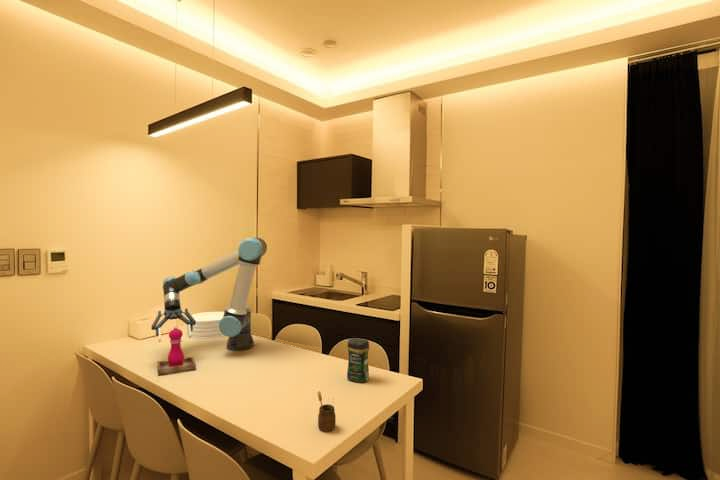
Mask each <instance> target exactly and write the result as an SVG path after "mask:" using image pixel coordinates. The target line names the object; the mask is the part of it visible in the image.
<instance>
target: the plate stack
mask: <svg viewBox="0 0 720 480" xmlns="http://www.w3.org/2000/svg"><path fill="white" fill-rule="evenodd" d="M224 312H225V311H207V312H205V311H204V312H199V313H198V312H197V313H193V314H190V315H191V316H192V317H193V318H194V320H195V321H196V324H195V325H193V331H192V332H191V338H189V332H188V325H187V324H186V334H185V335H186V337H187V338H188V339H192V340H213V339H219V338H223V337H226V336H225V335H223V334H222V333H221V331H220V330H219V322H220V320H221V319H222V318H223V316H224ZM186 318H187V317H186ZM187 319H188V318H187ZM188 320H189V319H188ZM189 321H190V320H189Z"/></svg>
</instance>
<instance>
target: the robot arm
mask: <svg viewBox="0 0 720 480" xmlns="http://www.w3.org/2000/svg"><path fill="white" fill-rule="evenodd" d="M237 249H238V250H236V251H234V252H231V253H229V254H227V255H225V256H223V257H221V258H218V260H215V261H213V262H211V263H208V264H206V265H205V266H203V267H202V268H199V269H197V270H191V271H188V272H186V273H184V274H182V275H180V276H178V277H176V276H168V277H166V278H164V279H163V281H162V289H163V303H164V304H163V305H164V311H161V310H159V311H158V314H157V316H156V317H155V319H154V321H153V322H152V325H151V330H152V331H155V336H158V343H161V342H162V338H161V337H162V334H161V328H162V326H163V325H164V324H165V323H166V322H168V320H177V319H179V320H181V321H182V322H183V323H184V324H186V326H187V325H188V332H189V338H188V339H191V332H192V331H193V325H195V324H196V321H195V320H194V318H193V317H192V316H191V315H192V314H190V312H189V310H188V308H184V309H182V307H181V297H180V292H182V291H184V290H186V289H189V288H191V287H194V286H197V285H200V284H202V283H205V282H206V281H208V280H209V279H211V278H214V277H216V276H218V275H219V274H222V273H224V272H226V271H229V270H230V269H232V268H235V267H236V266H238V265H239V266H238V269H237V273H236V277H235V281H234V285H233V289H232V293H231V296H230V301H229V304H228V306H227V307H225V309H224V311H223V312H224V316H223V318H222V319H221V320H220V322H219V330H220V331H221V333H222V334H223V335H225V336H224V337H228V338H227V342H226V349H227V350H230V351H245V350H249V349H251V348H253V347H254V346H255V341H254V337H253V335H252V311H251V307H249V306H247V303H248V299H249V296H250V291H251V287H252V283H253V279H254V275H255V272H256V268H257V267H258V266H260V263H261V260H262V258H263V257H264V255H265V254H266V253H267V249H268V246H267V242H266V241H265V240H264V239H262V238H260V237H247V238H245V239H243V240H242V241H241V242H240V243H239V245H238V248H237ZM183 314H184V315H185V316H184V315H183ZM163 316H164V318H162V320H161V321H160V319H161V317H163ZM187 318H188V319H189V320H190V321H189V320H188V319H187ZM159 321H160V322H159Z"/></svg>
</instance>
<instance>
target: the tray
mask: <svg viewBox="0 0 720 480" xmlns="http://www.w3.org/2000/svg"><path fill="white" fill-rule="evenodd" d="M182 362H183V365H181V366H174V367H169V364H170V363H169V362H168V359H167V360H162V361H161V360H160V361H157V376H158V377H160V376H161V377H162V376H166V375H174V374H179V373H185V372H192V371H196V369H197V368H196V367H197V364H196V361H195V358H194V356H189V357H188V356H187V357H184V359H183V361H182Z"/></svg>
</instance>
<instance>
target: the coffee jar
mask: <svg viewBox="0 0 720 480" xmlns="http://www.w3.org/2000/svg"><path fill="white" fill-rule="evenodd" d="M346 349H347V353H348V362H347V363H348V365H347V374H346V378H347V380H348V381H351V382H355V383H365V382H367V381H368V380H369V378H370V373H369V372H370V369H369V356H368V355H369V350H370V343H369V340H368V339H362V338H358V337H357V338H356V337H352V338H349V339H348V341H347V348H346Z"/></svg>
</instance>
